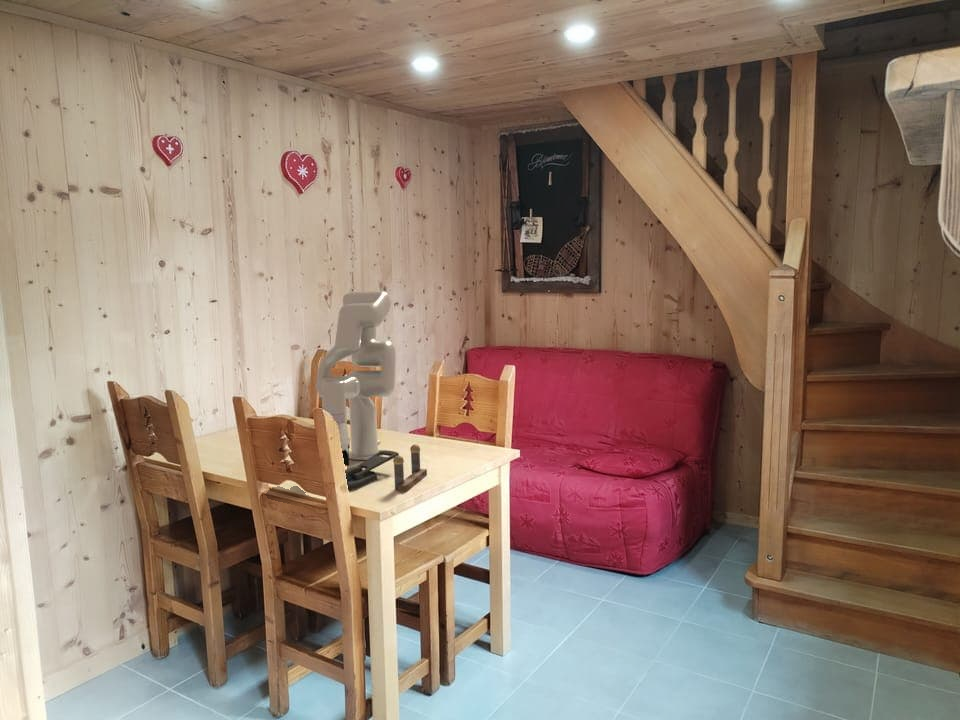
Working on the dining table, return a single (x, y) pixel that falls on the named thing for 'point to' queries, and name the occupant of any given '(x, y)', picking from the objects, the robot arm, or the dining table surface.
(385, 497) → the dining table surface
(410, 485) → the peg stop rail
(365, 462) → the zipper pull
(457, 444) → the dining table surface
